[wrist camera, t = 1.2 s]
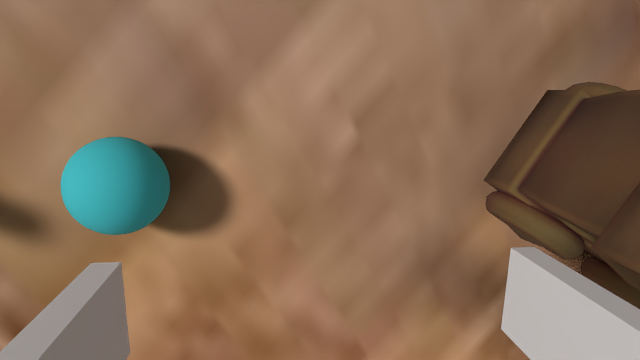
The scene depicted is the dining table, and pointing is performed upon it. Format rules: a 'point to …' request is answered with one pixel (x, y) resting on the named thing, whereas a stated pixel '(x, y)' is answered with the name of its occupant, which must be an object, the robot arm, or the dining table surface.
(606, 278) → the wooden toy train
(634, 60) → the dining table surface
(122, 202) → the ball
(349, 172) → the dining table surface
